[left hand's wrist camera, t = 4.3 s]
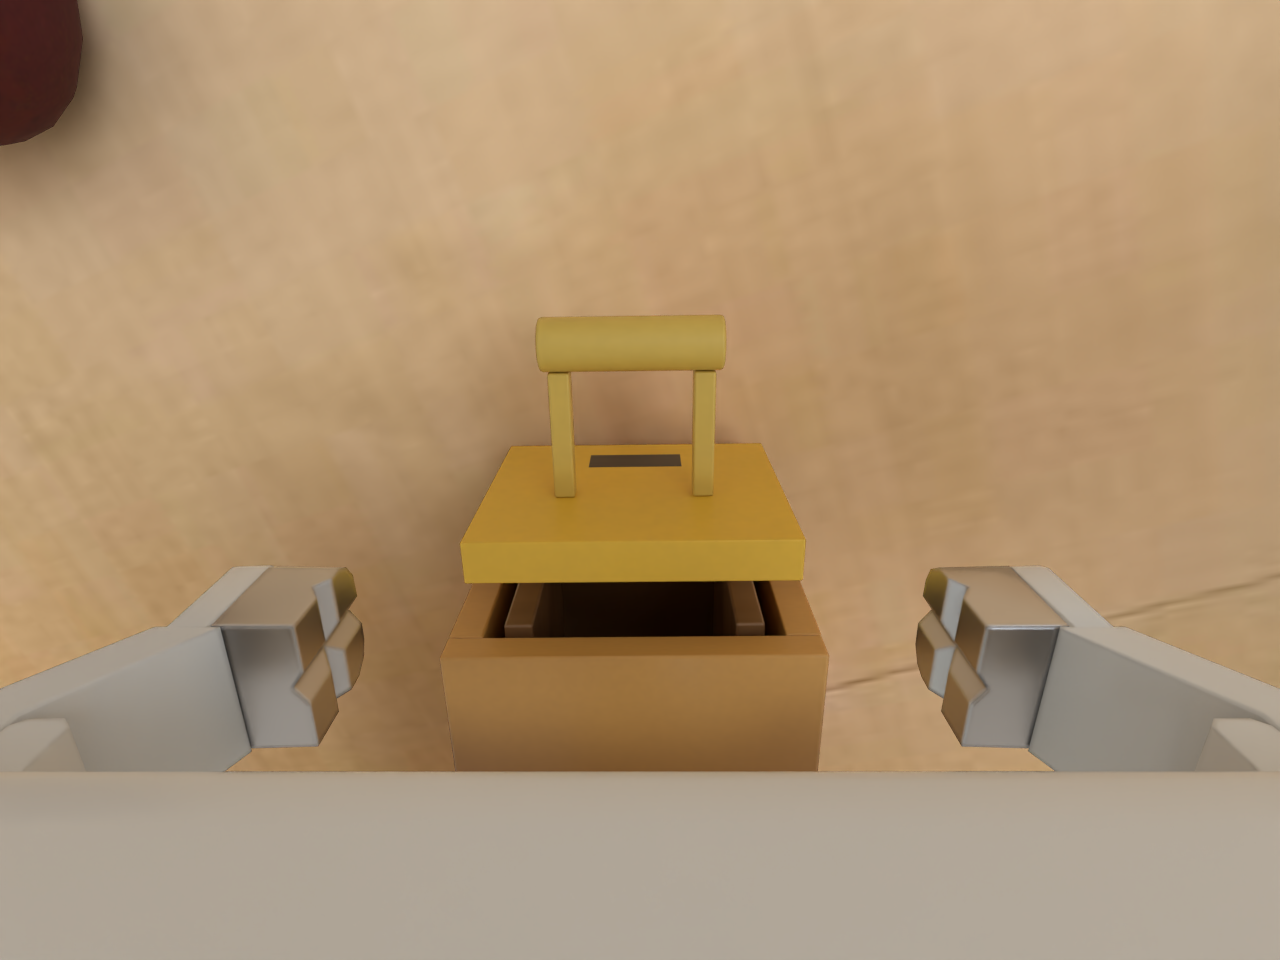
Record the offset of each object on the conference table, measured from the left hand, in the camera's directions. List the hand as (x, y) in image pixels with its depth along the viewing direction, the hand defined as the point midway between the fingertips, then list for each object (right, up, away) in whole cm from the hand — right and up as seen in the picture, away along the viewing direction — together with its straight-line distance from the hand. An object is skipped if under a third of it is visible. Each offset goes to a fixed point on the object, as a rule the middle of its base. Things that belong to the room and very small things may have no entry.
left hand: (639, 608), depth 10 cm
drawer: (0, -4, +18) cm, 18 cm away
